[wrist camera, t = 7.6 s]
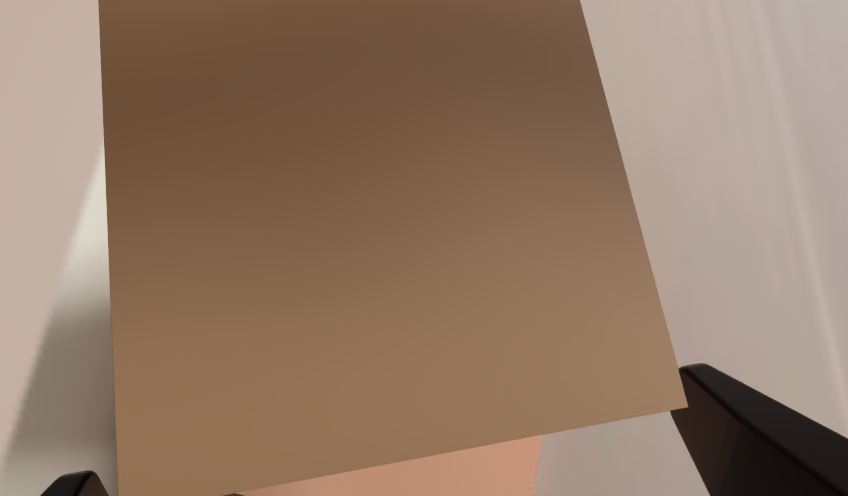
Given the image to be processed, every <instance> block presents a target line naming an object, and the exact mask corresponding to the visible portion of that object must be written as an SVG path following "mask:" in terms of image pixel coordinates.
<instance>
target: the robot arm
mask: <svg viewBox="0 0 848 496" xmlns="http://www.w3.org/2000/svg"><path fill="white" fill-rule="evenodd" d="M678 370H679V374H680V378H681V381H682V385H683V389H684V393H685V396H686V400H687V404H688V407H686V408H681V409H675V410H670V412H671V416H672V418H673V420H674V422H675V424H676V426H677V428H678V431H679V433H680V435H681V437H682V439H683V441H684V443H685V445H686V447H687V449H688V451H689V453H690V455H691V457H692V459H693V461H694V463H695V466H696V468H697V470H698V472H699V474H700V476H701V478H702V480H703V482H704V484H705V486H706V488H707V490H708V492H709V494H710V496H848V438H846V437H844V436H842V435H840V434H838V433H836V432H834V431H833V430H831V429H829V428H827V427H825V426H823V425H821V424H819V423H817V422H815V421H814V420H812V419H810V418H808V417H806V416H804V415H802V414H800V413H798V412H797V411H795V410H793V409H791V408H789V407H787V406H785V405H783V404H781V403H780V402H778V401H776V400H774V399H772V398H770V397H768V396H766V395H764V394H763V393H761V392H759V391H757V390H755V389H753V388H751V387H749V386H747V385H746V384H744V383H742V382H740V381H738V380H736V379H734V378H732V377H730V376H729V375H727V374H725V373H723V372H721V371H719V370H717V369H715V368H713V367H712V366H710V365H707V364H704V363H698V364H692V365H687V366H682V367H680V368H679V369H678ZM40 496H109V495H108V493H107V491H106V490H105V488H104V486H103V484H102V482H101V481H100V479H99V477H98V475H97V474H96V473H95V472H93V471H88V470H87V471H82V472H76V473H70V474H65V475H63V476H61V477H59V478H58V479H57V480H55V481H54V482H53V483H52V484H51V485H50V486H49V487H48V488H47V489H46V490H45V491H44V492H43V493H42V494H41V495H40Z"/></svg>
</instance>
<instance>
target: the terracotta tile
mask: <svg viewBox="0 0 848 496" xmlns="http://www.w3.org/2000/svg"><path fill="white" fill-rule="evenodd" d="M541 441H542V435H539V436H533V437H528V438H523V439H518V440H512V441H507V442H502V443H497V444H491V445H486V446H481V447H475V448H470V449H465V450H460V451H454V452H449V453H444V454H439V455H433V456H428V457H423V458H418V459H412V460H407V461H402V462H397V463H391V464H386V465H381V466H376V467H370V468H365V469H360V470H354V471H349V472H344V473H339V474H333V475H328V476H323V477H318V478H312V479H307V480H302V481H297V482H291V483H286V484H281V485H276V486H270V487H265V488H260V489H255V490H249V491H244V492H239V493H236V494H240V495H245V496H533V491H534V484H535V478H536V472H537V466H538V460H539V453H540V447H541Z"/></svg>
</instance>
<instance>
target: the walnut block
mask: <svg viewBox="0 0 848 496" xmlns="http://www.w3.org/2000/svg"><path fill="white" fill-rule="evenodd" d="M99 22H100V23H99V25H100V49H101V74H102V96H103V97H102V98H103V124H104V149H105V174H106V198H107V223H108V248H109V273H110V298H111V323H112V347H113V372H114V397H115V422H116V447H117V472H118V496H223V495H228V494H233V493H239V492H244V491H249V490H255V489H260V488H265V487H270V486H276V485H281V484H286V483H291V482H297V481H302V480H307V479H312V478H318V477H323V476H328V475H333V474H339V473H344V472H349V471H354V470H360V469H365V468H370V467H376V466H381V465H386V464H391V463H397V462H402V461H407V460H412V459H418V458H423V457H428V456H433V455H439V454H444V453H449V452H454V451H460V450H465V449H470V448H475V447H481V446H486V445H491V444H497V443H502V442H507V441H512V440H518V439H523V438H528V437H533V436H539V435H544V434H549V433H554V432H560V431H565V430H570V429H575V428H581V427H586V426H591V425H596V424H602V423H607V422H612V421H618V420H623V419H628V418H633V417H639V416H644V415H649V414H654V413H660V412H665V411H670V410H675V409H681V408H686V407H688V404H687V400H686V396H685V393H684V389H683V385H682V381H681V378H680V374H679V370H678V366H677V363H676V359H675V355H674V351H673V348H672V344H671V340H670V336H669V333H668V329H667V325H666V321H665V318H664V314H663V310H662V307H661V303H660V299H659V295H658V292H657V288H656V284H655V280H654V277H653V273H652V269H651V265H650V262H649V258H648V254H647V250H646V247H645V243H644V239H643V235H642V232H641V228H640V224H639V220H638V217H637V213H636V209H635V206H634V202H633V198H632V194H631V191H630V187H629V183H628V179H627V176H626V172H625V168H624V164H623V161H622V157H621V153H620V149H619V146H618V142H617V138H616V134H615V131H614V127H613V123H612V119H611V116H610V112H609V108H608V105H607V101H606V97H605V93H604V90H603V86H602V82H601V78H600V75H599V71H598V67H597V63H596V60H595V56H594V52H593V48H592V45H591V41H590V37H589V33H588V30H587V26H586V22H585V18H584V15H583V11H582V7H581V4H580V0H99Z"/></svg>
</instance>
